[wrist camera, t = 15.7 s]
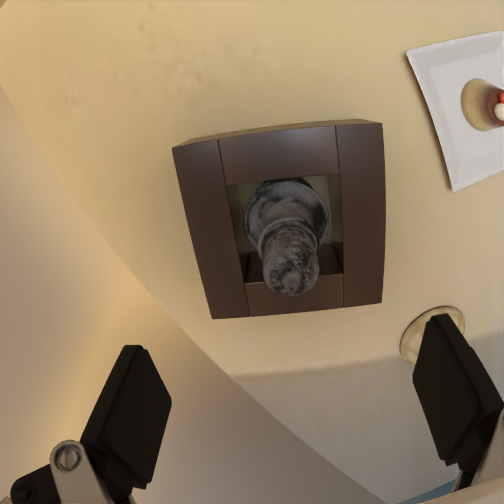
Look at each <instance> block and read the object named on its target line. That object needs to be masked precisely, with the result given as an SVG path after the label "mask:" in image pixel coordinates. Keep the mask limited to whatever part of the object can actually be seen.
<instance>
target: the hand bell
mask: <svg viewBox="0 0 504 504" xmlns="http://www.w3.org/2000/svg"><path fill="white" fill-rule="evenodd" d="M444 313H448V314H449V315H450V317H451V318H452V320H453V321H454V323H455V324H456V326H457V327H458V329H459V330H460V332H461V333H462V335H463V334H464V330H465V320H464V316H463V314H462V313H461V312H460V311H459V310H458V309H456V308H452V307H440V308H436V309H433V310H431V311H428V312H426V313H425V314H423V315H421V316H420V317H419V318H417V319H416V320H415V321H414V322H413V323H412V324H411V325H410V326H409V327H408V328H407V330H406V331H405V333H404V335H403V337H402V339H401V343H400V353H401V355H402V357H403V358H404V359H405V360H406V361H407V362H409V363H411V364H414V365H416V361H417V357H418V353H419V350H420V346H421V341H422V337H423V333H424V329H425V324H426V322H427V321H429V320H430V318H431V316H434V315H439V314H444Z"/></svg>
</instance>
